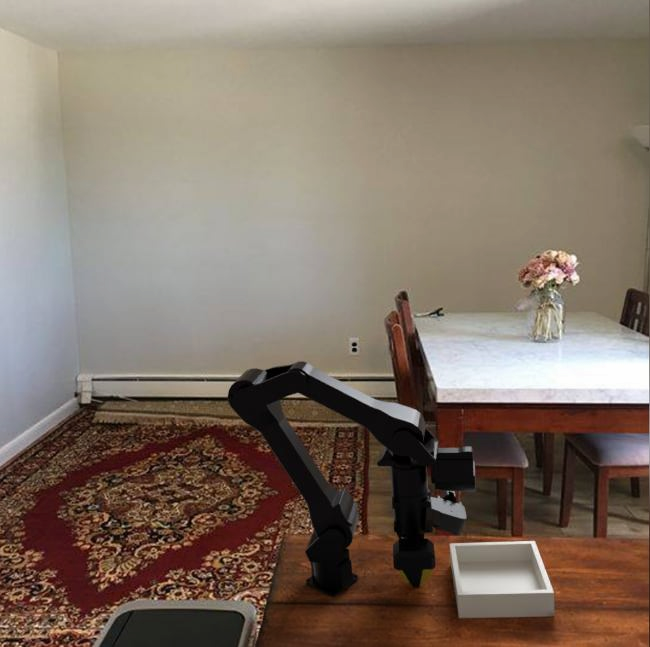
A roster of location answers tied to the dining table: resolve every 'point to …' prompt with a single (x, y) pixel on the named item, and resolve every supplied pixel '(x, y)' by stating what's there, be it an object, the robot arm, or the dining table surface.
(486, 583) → the box
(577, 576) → the dining table surface
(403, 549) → the robot arm
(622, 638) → the dining table surface
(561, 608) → the dining table surface
